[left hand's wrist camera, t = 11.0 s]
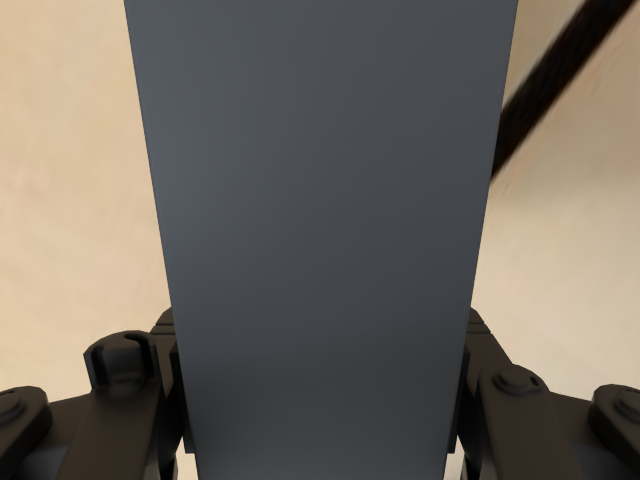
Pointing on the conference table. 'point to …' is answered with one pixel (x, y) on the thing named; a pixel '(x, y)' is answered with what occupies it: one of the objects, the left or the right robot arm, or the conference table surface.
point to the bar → (320, 221)
